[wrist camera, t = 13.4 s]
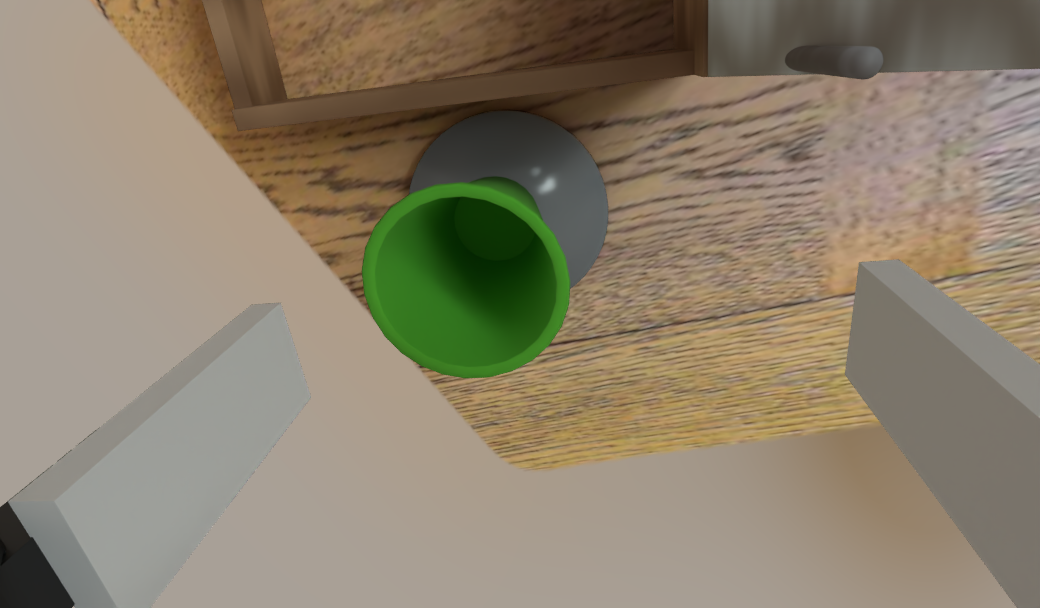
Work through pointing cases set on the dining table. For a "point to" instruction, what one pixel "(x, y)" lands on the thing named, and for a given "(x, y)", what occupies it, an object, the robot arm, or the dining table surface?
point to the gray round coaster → (528, 175)
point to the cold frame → (669, 52)
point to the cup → (467, 278)
